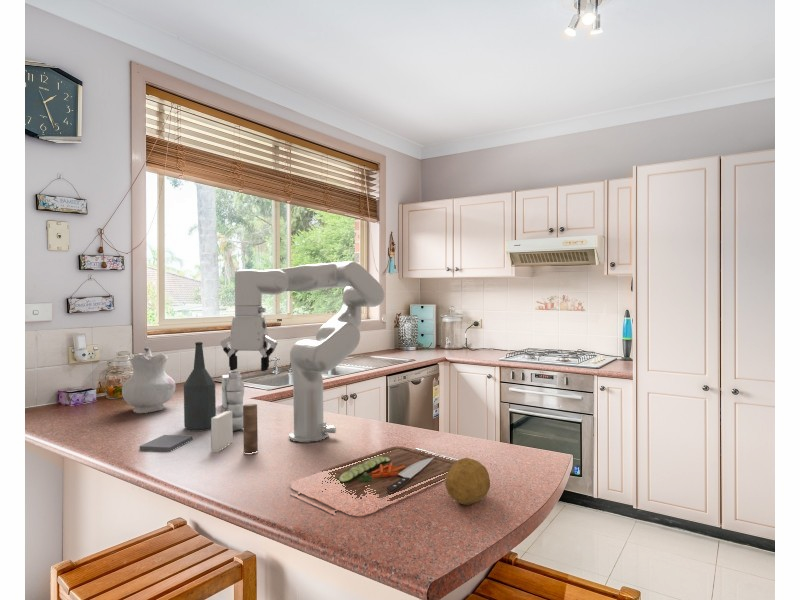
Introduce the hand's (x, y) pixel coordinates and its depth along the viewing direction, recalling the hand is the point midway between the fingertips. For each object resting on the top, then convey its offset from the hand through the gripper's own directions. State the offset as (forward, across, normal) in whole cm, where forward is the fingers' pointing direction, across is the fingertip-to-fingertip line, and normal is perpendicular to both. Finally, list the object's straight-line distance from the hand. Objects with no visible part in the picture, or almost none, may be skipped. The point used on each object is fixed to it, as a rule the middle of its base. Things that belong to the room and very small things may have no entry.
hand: (249, 370), depth 148 cm
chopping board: (+25, -42, +14) cm, 51 cm away
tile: (+24, +11, -4) cm, 27 cm away
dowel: (+24, 0, 0) cm, 24 cm away
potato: (+24, -64, +25) cm, 74 cm away
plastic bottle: (+24, +16, -22) cm, 36 cm away
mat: (+24, +29, -4) cm, 38 cm away
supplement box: (+24, +35, -57) cm, 71 cm away
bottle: (+25, +30, -24) cm, 45 cm away
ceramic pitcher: (+25, +66, -46) cm, 85 cm away
